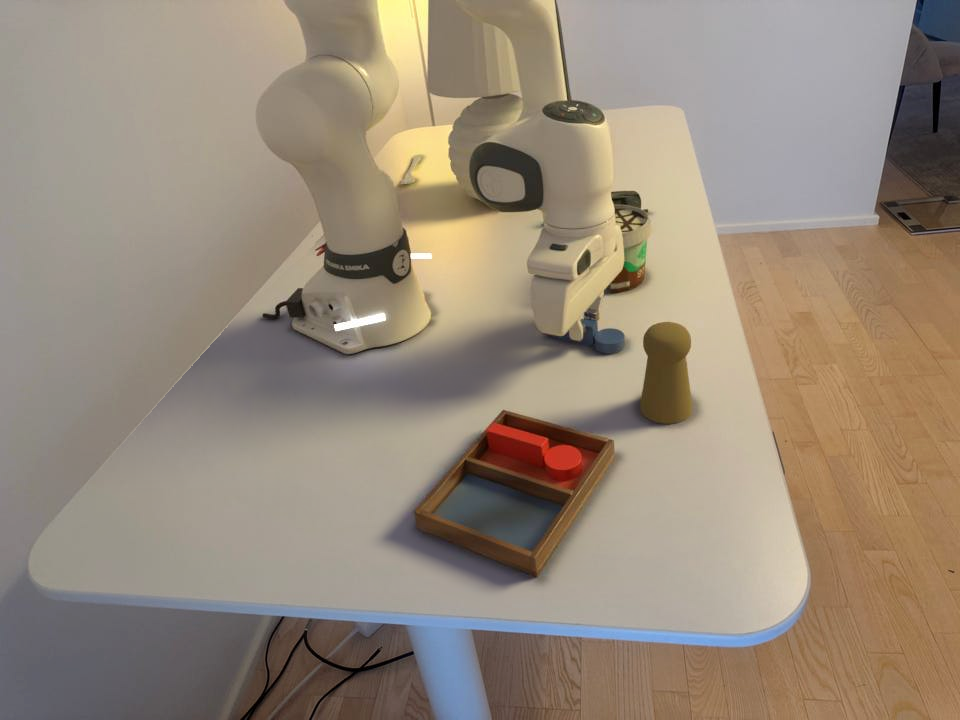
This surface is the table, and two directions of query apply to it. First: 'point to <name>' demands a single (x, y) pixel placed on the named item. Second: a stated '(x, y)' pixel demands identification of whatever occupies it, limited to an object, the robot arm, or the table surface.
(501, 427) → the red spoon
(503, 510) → the sorting tray
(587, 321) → the blue block with disc
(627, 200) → the mobile phone
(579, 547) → the table surface
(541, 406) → the table surface
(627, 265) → the food container
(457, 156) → the table lamp
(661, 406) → the brown game pawn
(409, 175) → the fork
